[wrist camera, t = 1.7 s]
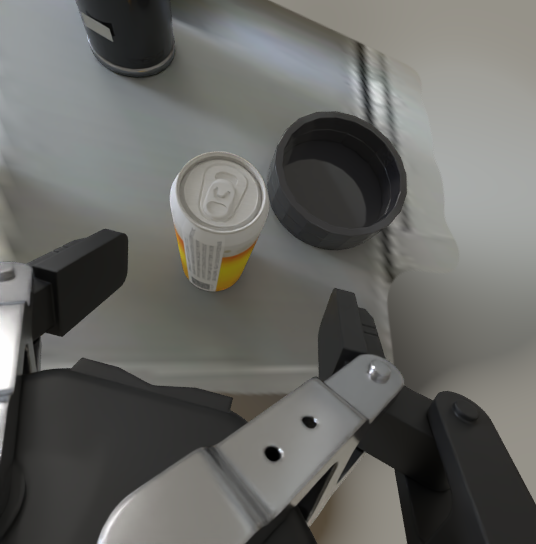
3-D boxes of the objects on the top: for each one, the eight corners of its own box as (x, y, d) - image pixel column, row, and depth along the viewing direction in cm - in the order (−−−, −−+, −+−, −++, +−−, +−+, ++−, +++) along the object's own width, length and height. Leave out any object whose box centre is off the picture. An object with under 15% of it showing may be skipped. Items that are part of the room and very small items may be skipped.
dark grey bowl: (244, 161, 37) (249, 135, 33) (344, 123, 41) (360, 96, 37) (308, 271, 35) (323, 259, 31) (406, 219, 39) (431, 202, 35)
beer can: (249, 245, 34) (283, 164, 20) (233, 300, 32) (259, 253, 18) (193, 228, 33) (187, 132, 19) (174, 283, 32) (152, 220, 17)
